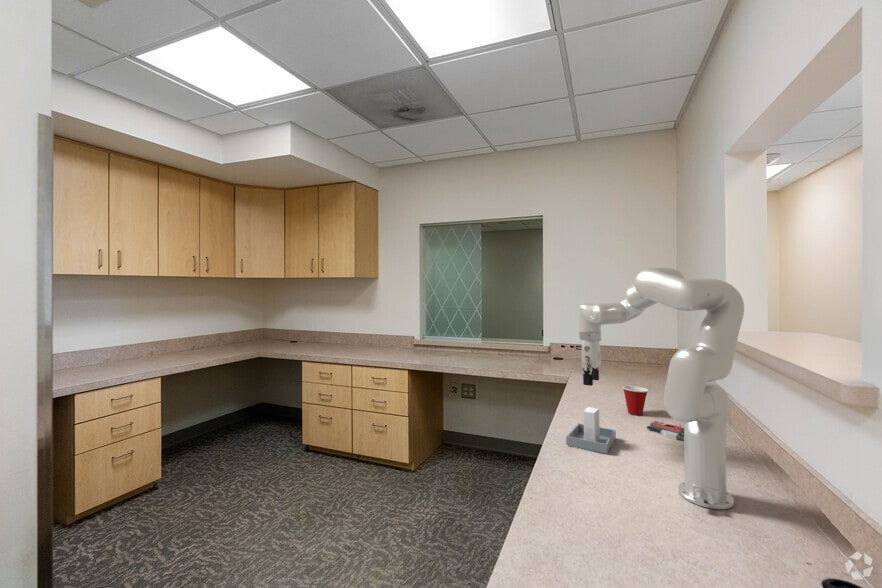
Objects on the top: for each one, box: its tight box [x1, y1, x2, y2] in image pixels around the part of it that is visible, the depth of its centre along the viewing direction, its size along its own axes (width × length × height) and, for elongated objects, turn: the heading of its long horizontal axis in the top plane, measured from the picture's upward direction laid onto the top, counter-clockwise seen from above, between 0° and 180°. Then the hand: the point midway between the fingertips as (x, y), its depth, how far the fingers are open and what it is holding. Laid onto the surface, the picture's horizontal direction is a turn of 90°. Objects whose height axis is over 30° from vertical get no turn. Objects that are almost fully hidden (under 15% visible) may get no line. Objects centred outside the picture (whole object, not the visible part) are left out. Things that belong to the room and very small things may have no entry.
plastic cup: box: [622, 385, 650, 417], centre depth 173 cm, size 11×11×12 cm
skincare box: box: [583, 406, 600, 442], centre depth 142 cm, size 6×4×12 cm
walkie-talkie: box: [646, 420, 685, 441], centre depth 147 cm, size 9×4×20 cm
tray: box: [565, 423, 617, 456], centre depth 142 cm, size 16×14×4 cm
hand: (591, 382), depth 142 cm, fingers open, 9 cm apart
